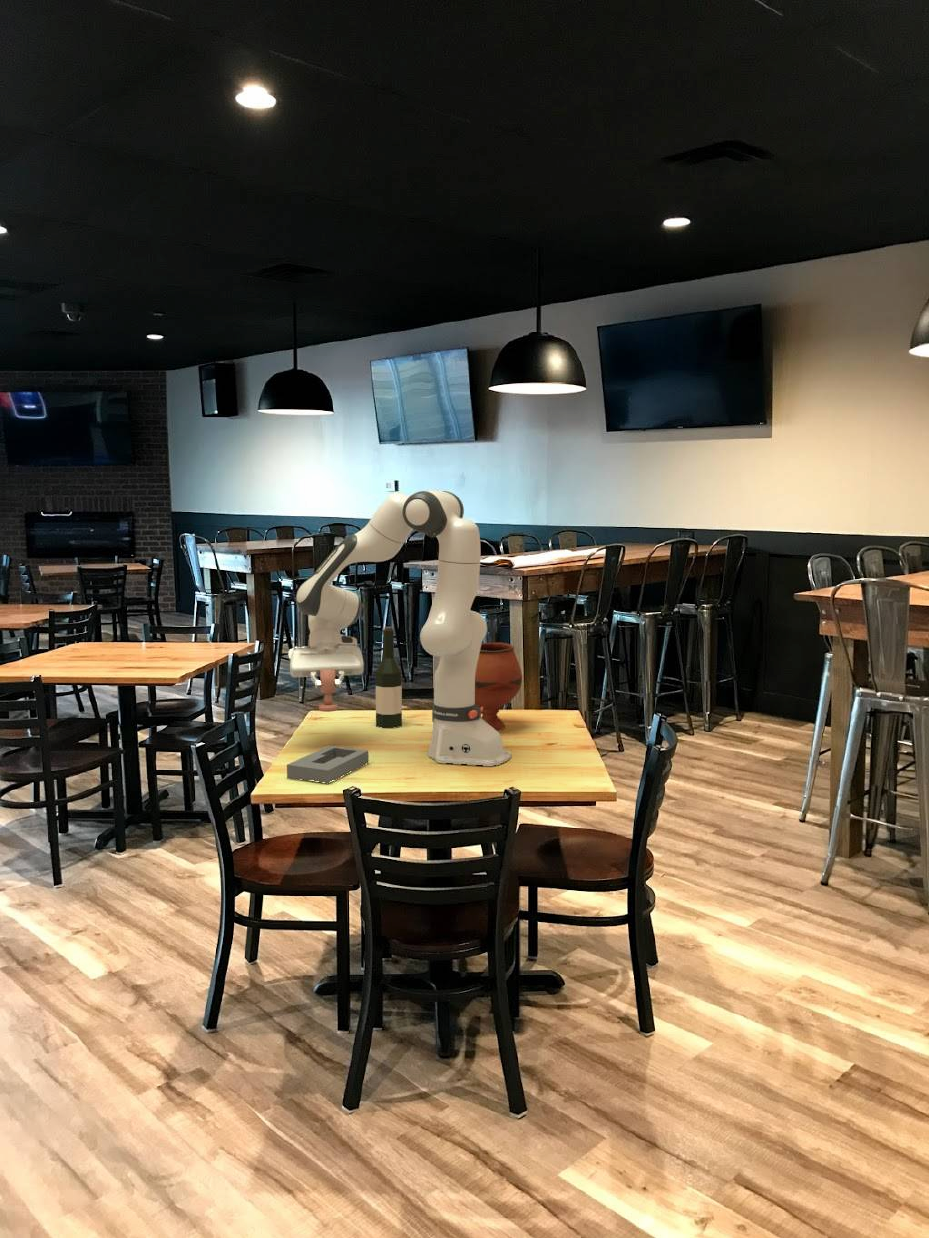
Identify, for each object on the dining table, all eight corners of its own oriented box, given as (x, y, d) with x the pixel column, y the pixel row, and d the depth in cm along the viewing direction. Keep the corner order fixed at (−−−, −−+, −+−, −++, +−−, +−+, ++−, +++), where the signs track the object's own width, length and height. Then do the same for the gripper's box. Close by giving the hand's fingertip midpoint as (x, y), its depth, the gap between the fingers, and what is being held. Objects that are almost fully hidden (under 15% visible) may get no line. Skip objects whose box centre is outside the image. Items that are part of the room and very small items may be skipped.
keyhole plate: (329, 758, 270) (329, 745, 270) (368, 763, 265) (368, 750, 265) (287, 778, 252) (286, 764, 251) (328, 784, 247) (328, 770, 247)
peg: (341, 708, 277) (340, 669, 275) (331, 712, 272) (330, 672, 271) (325, 706, 279) (324, 667, 277) (315, 710, 274) (314, 670, 273)
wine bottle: (370, 726, 304) (369, 628, 300) (382, 720, 312) (381, 624, 308) (395, 729, 301) (394, 630, 297) (407, 723, 309) (406, 626, 305)
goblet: (447, 731, 299) (447, 648, 295) (472, 717, 316) (472, 639, 313) (508, 738, 291) (509, 653, 288) (530, 723, 309) (531, 643, 305)
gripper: (287, 640, 278) (289, 682, 269) (362, 638, 281) (365, 679, 273) (287, 653, 283) (289, 695, 274) (361, 651, 286) (364, 691, 278)
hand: (328, 687), depth 274 cm, fingers closed on peg, 4 cm apart
